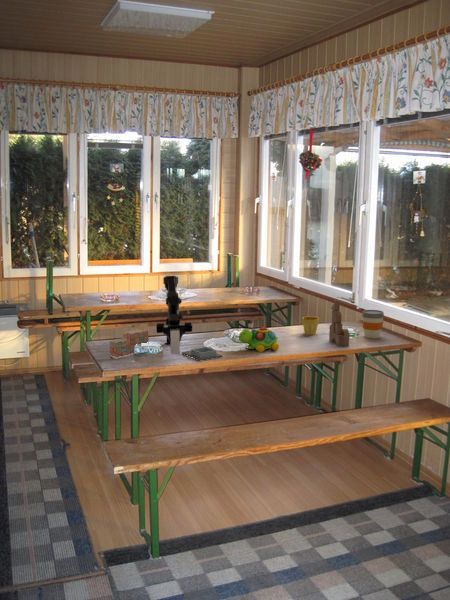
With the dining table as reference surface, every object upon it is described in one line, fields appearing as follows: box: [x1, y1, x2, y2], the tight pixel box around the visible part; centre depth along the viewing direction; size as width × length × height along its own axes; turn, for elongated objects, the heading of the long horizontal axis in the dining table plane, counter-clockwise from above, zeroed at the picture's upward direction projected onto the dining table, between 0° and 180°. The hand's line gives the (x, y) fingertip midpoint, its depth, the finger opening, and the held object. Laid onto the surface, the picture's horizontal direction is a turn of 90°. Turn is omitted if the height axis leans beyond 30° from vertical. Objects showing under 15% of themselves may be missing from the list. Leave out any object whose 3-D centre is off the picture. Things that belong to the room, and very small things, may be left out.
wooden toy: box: [328, 300, 350, 348], centre depth 362 cm, size 15×7×25 cm, turn 13°
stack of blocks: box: [109, 328, 149, 357], centre depth 340 cm, size 21×6×12 cm, turn 136°
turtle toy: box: [238, 327, 280, 353], centre depth 352 cm, size 17×23×12 cm
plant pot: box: [301, 315, 320, 336], centre depth 386 cm, size 10×10×10 cm
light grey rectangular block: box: [170, 329, 181, 355], centre depth 330 cm, size 4×4×12 cm
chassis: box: [181, 346, 223, 361], centre depth 339 cm, size 18×14×4 cm
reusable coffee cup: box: [361, 309, 385, 339], centre depth 378 cm, size 13×13×15 cm
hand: (175, 341), depth 329 cm, fingers closed on light grey rectangular block, 4 cm apart
